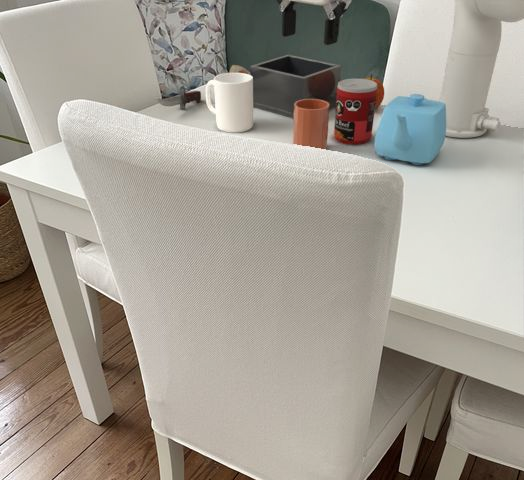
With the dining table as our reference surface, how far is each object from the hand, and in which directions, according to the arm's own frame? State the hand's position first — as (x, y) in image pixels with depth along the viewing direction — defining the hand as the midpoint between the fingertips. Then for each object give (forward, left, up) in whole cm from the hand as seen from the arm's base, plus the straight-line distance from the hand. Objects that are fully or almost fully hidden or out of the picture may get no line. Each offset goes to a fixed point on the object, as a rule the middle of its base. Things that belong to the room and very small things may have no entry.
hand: (309, 39), depth 104 cm
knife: (+37, 0, -20) cm, 42 cm away
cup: (+22, 0, -20) cm, 30 cm away
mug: (+34, -19, -20) cm, 44 cm away
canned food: (-4, -11, -20) cm, 23 cm away
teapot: (-18, -9, -20) cm, 29 cm away
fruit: (+4, -29, -20) cm, 36 cm away
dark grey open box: (+19, -20, -20) cm, 34 cm away
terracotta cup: (-1, 0, -20) cm, 20 cm away
